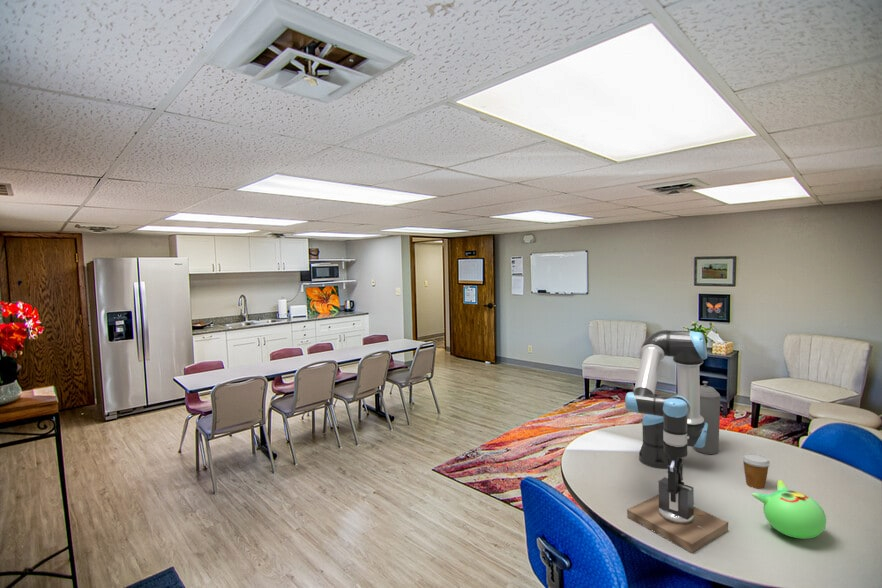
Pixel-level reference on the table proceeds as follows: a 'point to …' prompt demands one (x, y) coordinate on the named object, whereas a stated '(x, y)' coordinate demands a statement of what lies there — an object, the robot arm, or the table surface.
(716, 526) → the dial panel
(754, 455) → the disposable coffee cup
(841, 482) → the table surface
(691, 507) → the dial
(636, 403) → the robot arm
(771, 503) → the toy bird
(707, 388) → the canister
